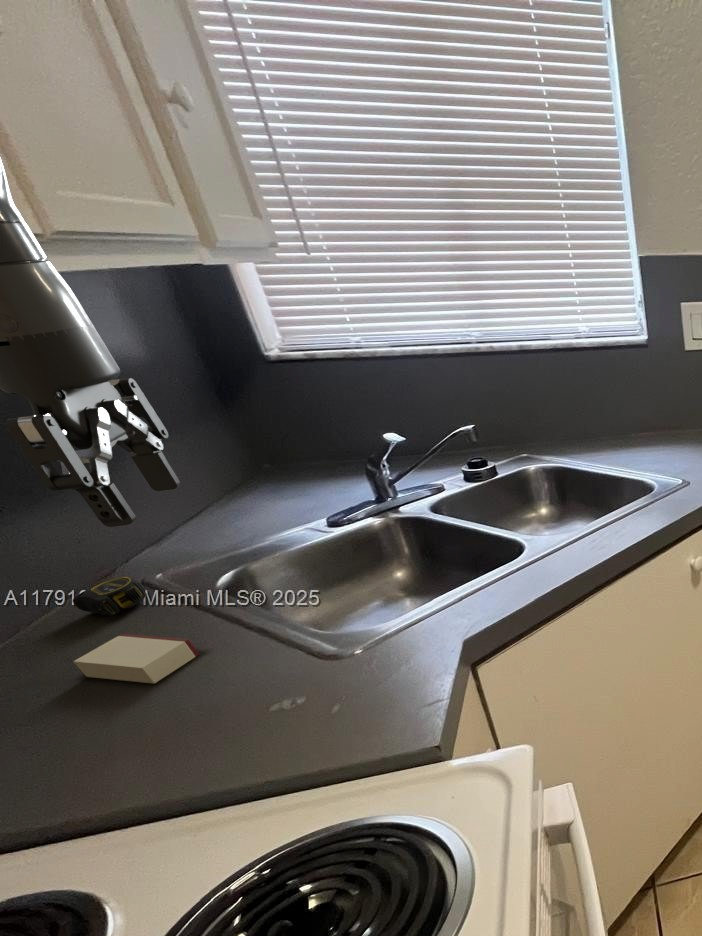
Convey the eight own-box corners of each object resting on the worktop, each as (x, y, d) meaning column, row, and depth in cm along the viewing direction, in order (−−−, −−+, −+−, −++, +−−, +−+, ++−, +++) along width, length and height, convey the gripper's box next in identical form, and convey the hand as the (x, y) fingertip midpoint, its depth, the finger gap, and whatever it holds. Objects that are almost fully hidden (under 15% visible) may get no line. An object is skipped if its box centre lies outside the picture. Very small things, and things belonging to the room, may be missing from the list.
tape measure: (82, 616, 94) (64, 595, 92) (134, 592, 100) (119, 572, 98) (109, 623, 92) (91, 602, 90) (161, 598, 97) (146, 578, 95)
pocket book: (86, 676, 82) (72, 661, 80) (134, 648, 86) (122, 633, 85) (154, 683, 80) (141, 667, 78) (199, 654, 85) (188, 639, 83)
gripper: (28, 316, 56) (138, 484, 65) (-105, 346, 45) (51, 545, 54) (129, 309, 58) (223, 473, 67) (26, 337, 47) (155, 530, 56)
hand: (146, 505), depth 61 cm, fingers open, 8 cm apart
